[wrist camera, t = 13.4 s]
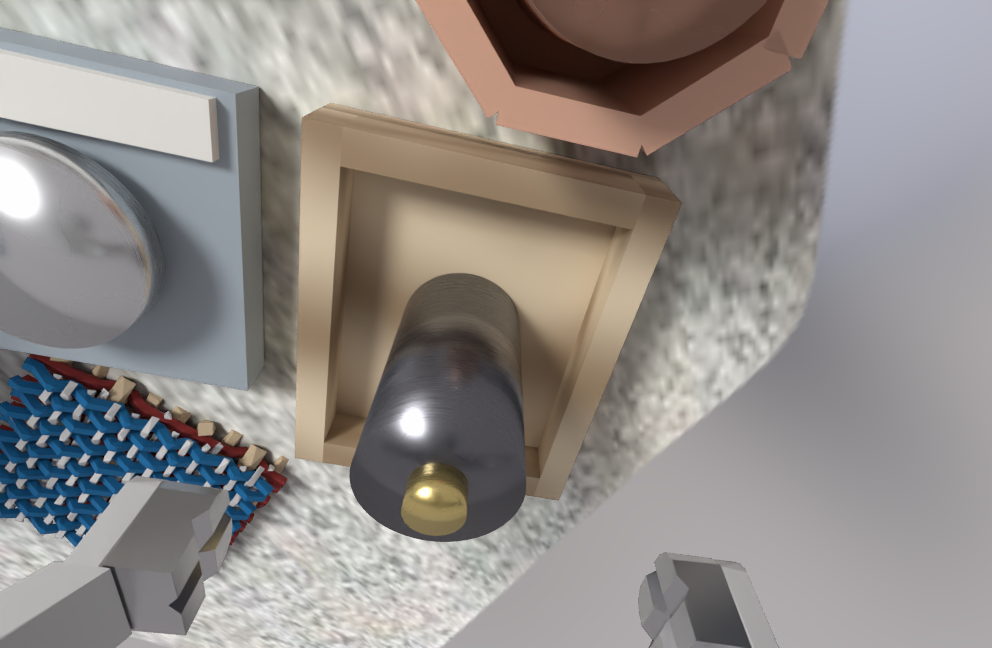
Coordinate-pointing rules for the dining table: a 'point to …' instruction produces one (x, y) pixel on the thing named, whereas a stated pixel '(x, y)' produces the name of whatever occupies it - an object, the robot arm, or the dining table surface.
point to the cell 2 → (640, 25)
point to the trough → (465, 269)
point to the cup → (611, 73)
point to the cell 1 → (447, 416)
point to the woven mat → (110, 450)
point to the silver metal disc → (71, 247)
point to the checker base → (160, 196)
